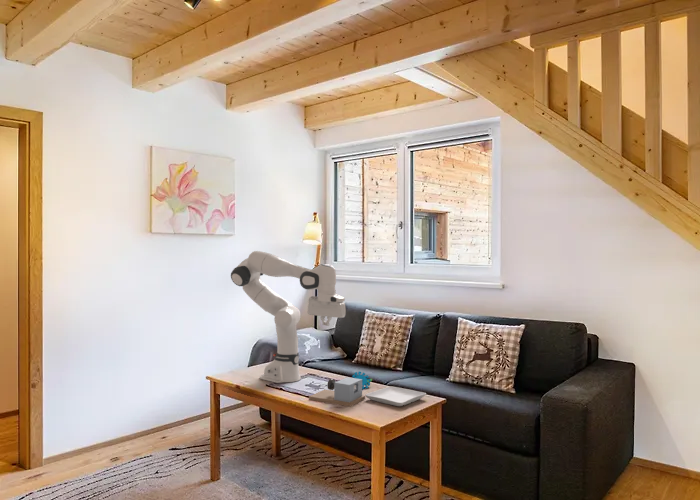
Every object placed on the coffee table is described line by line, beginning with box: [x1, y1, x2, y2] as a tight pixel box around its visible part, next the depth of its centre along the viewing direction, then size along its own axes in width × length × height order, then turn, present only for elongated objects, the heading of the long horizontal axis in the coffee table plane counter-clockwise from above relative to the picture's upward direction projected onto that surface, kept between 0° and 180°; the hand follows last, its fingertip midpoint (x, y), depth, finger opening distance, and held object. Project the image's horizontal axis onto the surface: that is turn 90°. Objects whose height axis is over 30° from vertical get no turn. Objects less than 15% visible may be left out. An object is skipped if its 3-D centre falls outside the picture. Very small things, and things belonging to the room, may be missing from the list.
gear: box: [351, 371, 373, 390], centre depth 269 cm, size 11×6×10 cm
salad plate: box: [364, 385, 427, 407], centre depth 246 cm, size 21×21×3 cm
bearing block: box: [308, 376, 366, 407], centre depth 246 cm, size 22×14×9 cm, turn 61°
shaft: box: [326, 378, 357, 391], centre depth 245 cm, size 14×5×5 cm, turn 61°
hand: (325, 325), depth 259 cm, fingers closed
